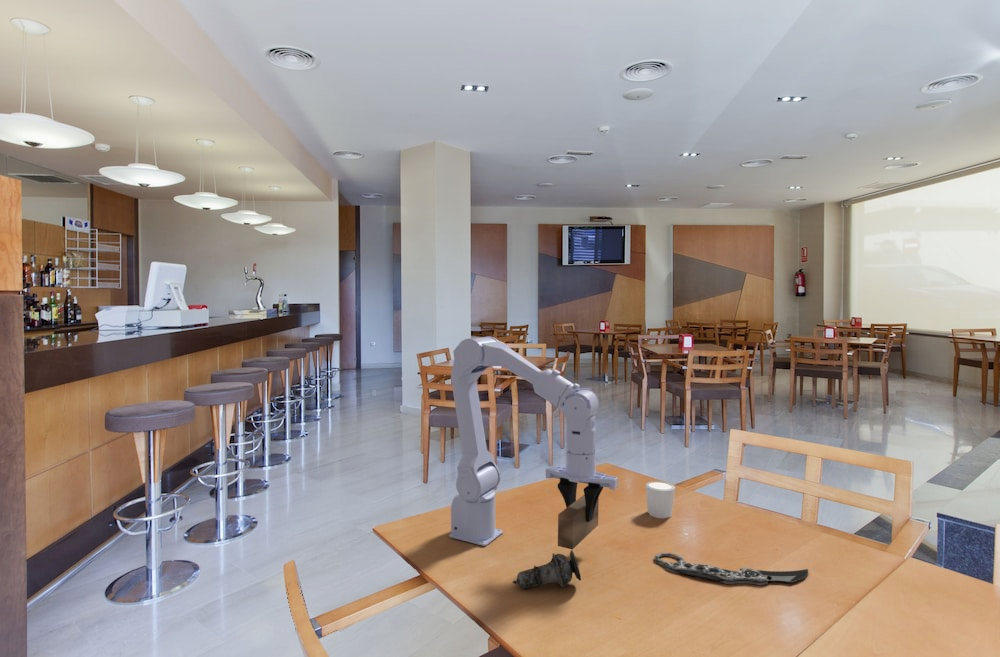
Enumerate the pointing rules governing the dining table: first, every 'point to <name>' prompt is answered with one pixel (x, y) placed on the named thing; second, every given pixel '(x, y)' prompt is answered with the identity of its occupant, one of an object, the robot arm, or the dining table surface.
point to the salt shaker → (550, 572)
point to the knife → (729, 572)
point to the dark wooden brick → (575, 524)
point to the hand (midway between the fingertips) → (580, 518)
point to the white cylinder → (660, 499)
